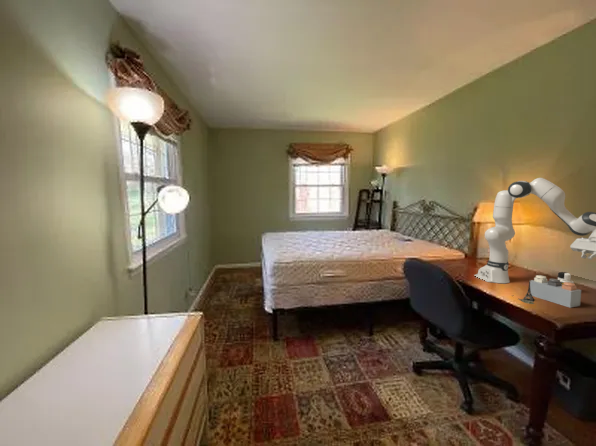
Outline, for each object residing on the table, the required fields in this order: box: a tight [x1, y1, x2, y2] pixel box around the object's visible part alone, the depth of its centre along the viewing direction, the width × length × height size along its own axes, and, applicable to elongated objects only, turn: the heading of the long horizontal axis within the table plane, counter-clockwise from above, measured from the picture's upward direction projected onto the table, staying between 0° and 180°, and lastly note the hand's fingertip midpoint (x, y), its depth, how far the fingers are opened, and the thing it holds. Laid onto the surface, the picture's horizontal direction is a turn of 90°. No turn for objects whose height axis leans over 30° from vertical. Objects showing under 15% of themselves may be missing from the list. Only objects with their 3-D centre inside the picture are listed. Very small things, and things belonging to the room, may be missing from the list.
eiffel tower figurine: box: [511, 279, 536, 305], centre depth 179 cm, size 15×10×13 cm
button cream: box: [533, 274, 548, 283], centre depth 184 cm, size 5×5×8 cm
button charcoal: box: [547, 278, 561, 287], centre depth 177 cm, size 5×5×8 cm
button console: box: [530, 279, 582, 309], centre depth 178 cm, size 22×8×9 cm, turn 17°
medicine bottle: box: [557, 271, 575, 285], centre depth 192 cm, size 7×7×12 cm
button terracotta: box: [562, 282, 577, 291], centre depth 170 cm, size 5×5×8 cm
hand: (586, 258), depth 172 cm, fingers closed
